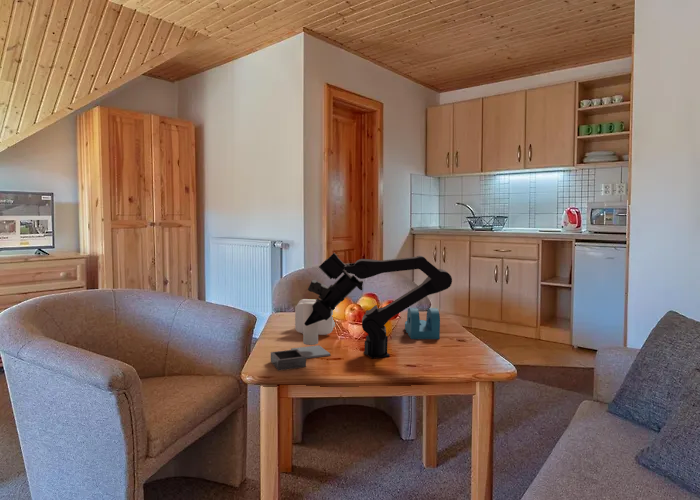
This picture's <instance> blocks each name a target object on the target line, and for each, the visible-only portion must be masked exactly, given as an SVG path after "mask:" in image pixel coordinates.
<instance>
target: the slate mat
mask: <svg viewBox="0 0 700 500" xmlns="http://www.w3.org/2000/svg"><path fill="white" fill-rule="evenodd" d="M294 349H297V350H299V351H300V352H301V353H302V354H303V355H304V356H305V357H306V360H307V359H314V358H320V357H321V358H322V357H329V356H331V352H329V351H328V350H326V349H325V348H323V347H322V346H321V345H320V344H319V345H317V344H316V345H308V346H301V347H300V346H299V347H294V348H290V350H294Z"/></svg>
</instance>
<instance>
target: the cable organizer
mask: <svg viewBox="0 0 700 500" xmlns="http://www.w3.org/2000/svg"><path fill="white" fill-rule="evenodd" d="M305 302H316V299H314V298H313V299H310V298H309V299H308V298H303V299H300V300H299V301H298V303H297V304H296V305H295V307H294V308H295V309H294V311H295V312H294V313H295V314H294V328H295V331H296V332H297V333H300V334H302V335H303V303H305ZM332 315H333V310H332V314H331V317H330V318H329V319H327V320H325V319H324V320H321V321H318V336H319V335H320V336H328V335H329V334H331V333H332V332H333V330H334V328H335V327H336V325H335V322H334V320H333V317H332Z"/></svg>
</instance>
